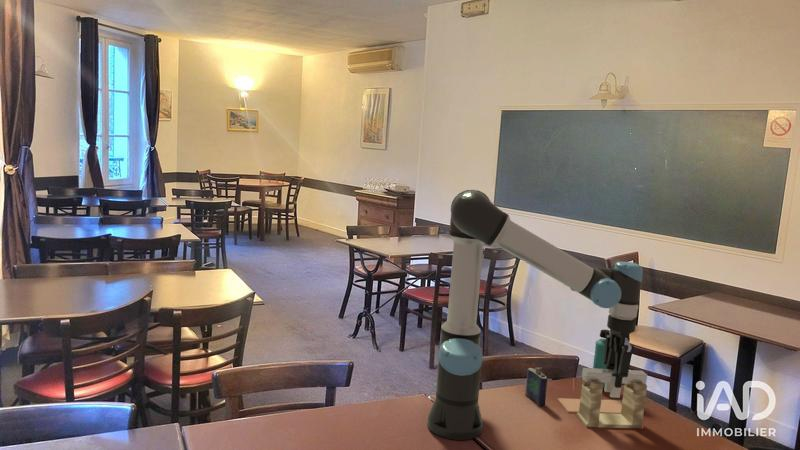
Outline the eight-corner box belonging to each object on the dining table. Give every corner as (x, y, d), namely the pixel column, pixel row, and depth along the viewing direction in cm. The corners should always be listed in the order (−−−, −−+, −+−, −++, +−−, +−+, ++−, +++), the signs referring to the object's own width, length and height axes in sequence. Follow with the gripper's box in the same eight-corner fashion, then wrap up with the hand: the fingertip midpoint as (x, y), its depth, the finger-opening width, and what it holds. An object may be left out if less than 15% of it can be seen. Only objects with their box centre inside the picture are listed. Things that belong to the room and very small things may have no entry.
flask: (523, 394, 185) (526, 362, 183) (531, 393, 186) (534, 361, 184) (539, 407, 176) (543, 373, 175) (548, 406, 177) (551, 372, 176)
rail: (585, 381, 165) (587, 371, 165) (581, 377, 168) (582, 367, 168) (645, 384, 167) (647, 374, 166) (640, 380, 170) (642, 370, 169)
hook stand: (586, 427, 165) (591, 383, 163) (576, 415, 172) (581, 374, 170) (643, 428, 166) (648, 385, 165) (631, 417, 173) (636, 375, 171)
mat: (567, 412, 174) (568, 411, 173) (557, 399, 182) (557, 398, 182) (634, 414, 175) (634, 413, 175) (621, 401, 184) (621, 400, 184)
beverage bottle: (613, 392, 191) (620, 334, 188) (593, 391, 191) (600, 333, 188) (607, 384, 197) (613, 328, 194) (587, 383, 197) (594, 327, 195)
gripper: (649, 325, 157) (637, 407, 160) (622, 308, 173) (612, 383, 176) (622, 324, 157) (611, 406, 160) (598, 307, 172) (588, 382, 176)
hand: (611, 394), depth 168 cm, fingers closed on rail, 3 cm apart
